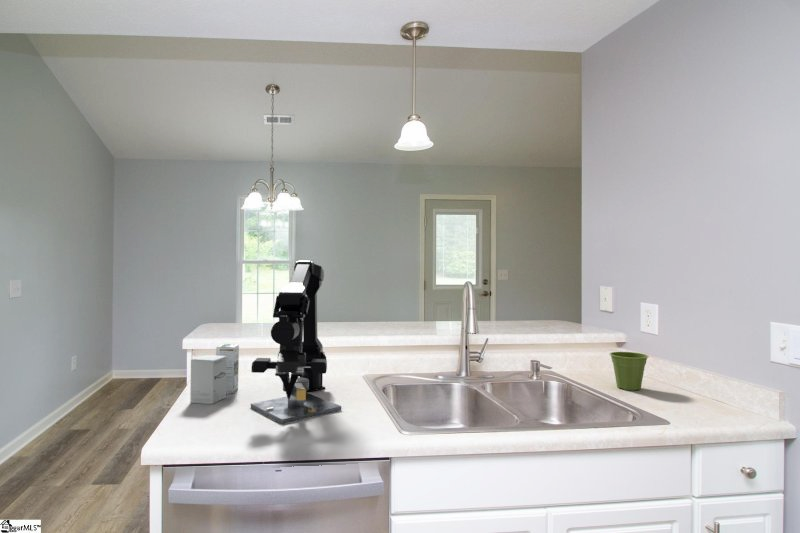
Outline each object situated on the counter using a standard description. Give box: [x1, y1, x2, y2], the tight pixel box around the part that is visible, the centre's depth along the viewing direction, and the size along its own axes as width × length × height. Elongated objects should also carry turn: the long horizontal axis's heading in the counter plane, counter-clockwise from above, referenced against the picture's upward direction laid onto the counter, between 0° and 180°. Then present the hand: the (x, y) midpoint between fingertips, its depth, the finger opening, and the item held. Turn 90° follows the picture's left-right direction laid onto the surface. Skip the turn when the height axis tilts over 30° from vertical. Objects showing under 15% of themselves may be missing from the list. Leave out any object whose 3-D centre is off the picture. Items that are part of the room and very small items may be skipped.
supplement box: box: [189, 354, 227, 405], centre depth 144 cm, size 7×7×13 cm
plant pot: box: [609, 351, 649, 392], centre depth 163 cm, size 12×12×11 cm
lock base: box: [250, 392, 342, 425], centre depth 136 cm, size 18×18×5 cm
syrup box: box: [215, 343, 240, 395], centre depth 153 cm, size 6×6×14 cm
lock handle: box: [282, 376, 309, 401], centre depth 132 cm, size 15×7×3 cm, turn 19°
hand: (288, 398), depth 127 cm, fingers closed
